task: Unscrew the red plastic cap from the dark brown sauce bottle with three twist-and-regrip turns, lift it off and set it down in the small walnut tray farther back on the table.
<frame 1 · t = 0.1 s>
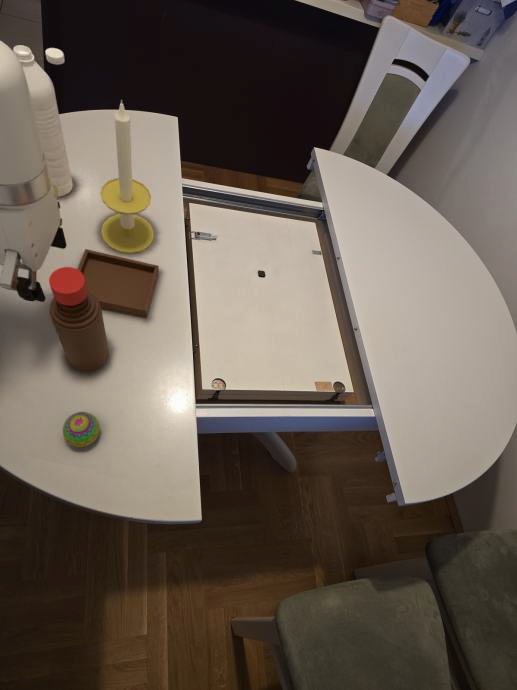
hand: (44, 270, 56), 12 cm above the table, tool pointing down, fingers open, 9 cm apart
candle: (128, 234, 77), on the table
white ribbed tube: (61, 186, 78), on the table
tray: (116, 287, 71), on the table
bottle: (88, 353, 64), on the table
cap: (67, 281, 47), point 20 cm above the table, screwed on, not yet turned
egg: (83, 433, 59), on the table
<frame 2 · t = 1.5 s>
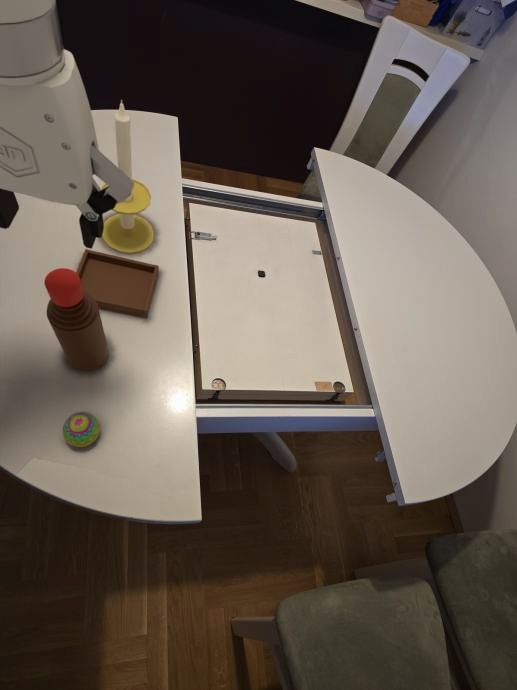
hand: (51, 227, 39), 30 cm above the table, tool pointing down, fingers open, 7 cm apart
nothing on the table moved.
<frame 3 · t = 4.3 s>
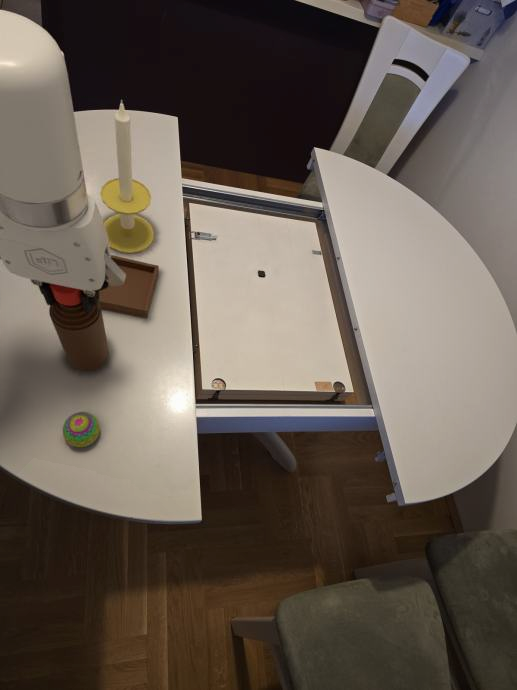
hand: (72, 299, 50), 17 cm above the table, tool pointing down, fingers closed on cap, 3 cm apart
cap: (67, 281, 47), point 20 cm above the table, screwed on, not yet turned, touching gripper
everything else where it was.
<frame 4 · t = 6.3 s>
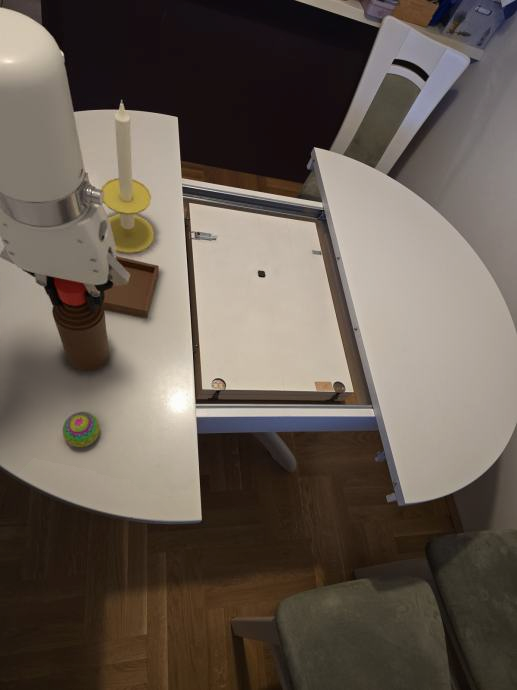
hand: (77, 299, 50), 17 cm above the table, tool pointing down, fingers closed on cap, 3 cm apart
bottle: (88, 353, 64), on the table, touching gripper
cap: (72, 281, 47), point 21 cm above the table, turned 179° so far, risen 0.2 cm, still on its thread, touching gripper
everything else where it was.
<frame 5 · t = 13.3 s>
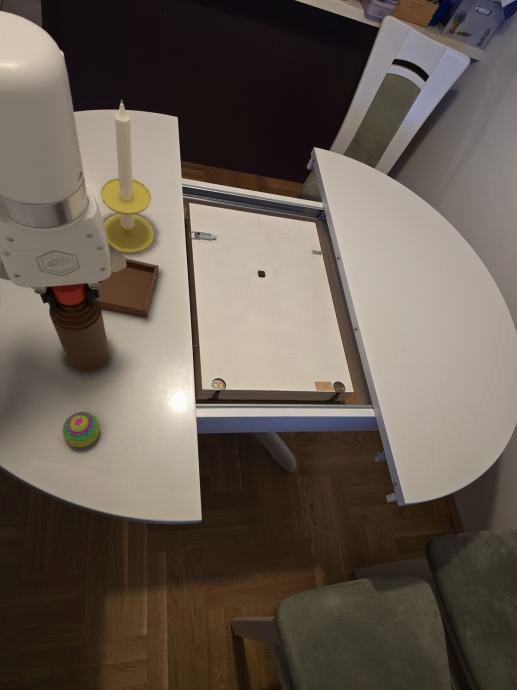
hand: (72, 299, 50), 17 cm above the table, tool pointing down, fingers closed on cap, 3 cm apart
bottle: (88, 353, 64), on the table
cap: (67, 280, 47), point 21 cm above the table, turned 201° so far, risen 0.2 cm, still on its thread, touching gripper
everything else where it was.
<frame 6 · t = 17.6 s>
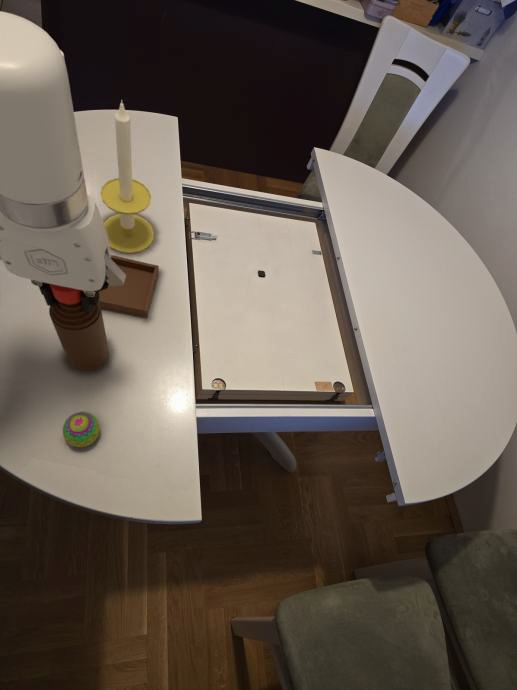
hand: (72, 299, 50), 16 cm above the table, tool pointing down, fingers closed on cap, 3 cm apart
cap: (66, 279, 46), point 21 cm above the table, turned 359° so far, risen 0.3 cm, still on its thread, touching gripper
everything else where it was.
when the fingers open (2 cm above the table, at t = 27.2 s): cap drops 3 cm, resting on tray.
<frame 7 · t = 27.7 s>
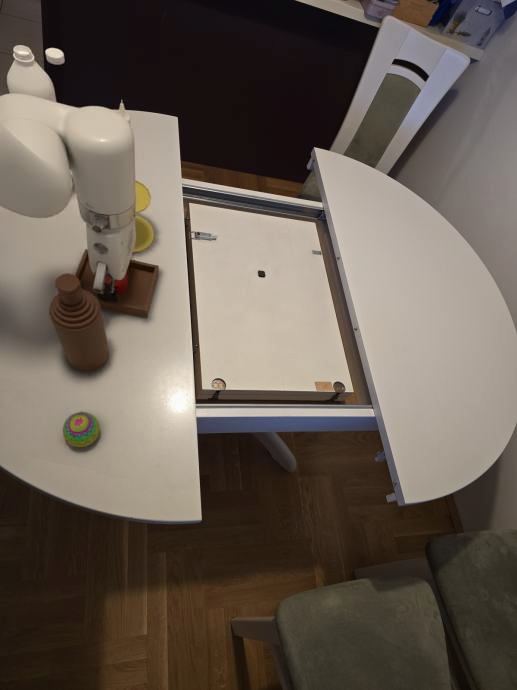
hand: (115, 277, 69), 3 cm above the table, tool pointing down, fingers open, 9 cm apart
cap: (115, 277, 69), point 3 cm above the table, off its thread, touching tray
everything else where it was.
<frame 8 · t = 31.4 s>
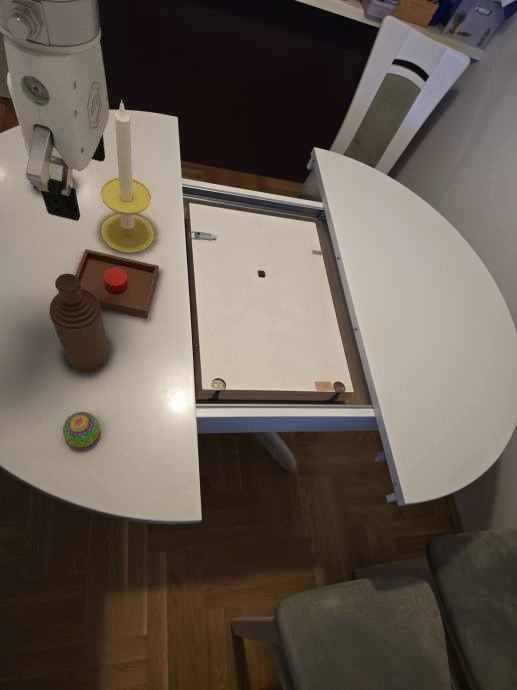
hand: (78, 184, 44), 28 cm above the table, tool pointing down, fingers open, 9 cm apart
nothing on the table moved.
at the end: cap inside the target area on the tray (0.0 cm from its centre), point 3.0 cm above the tray's base; cap point 3.0 cm above the table; the gripper is holding nothing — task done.
